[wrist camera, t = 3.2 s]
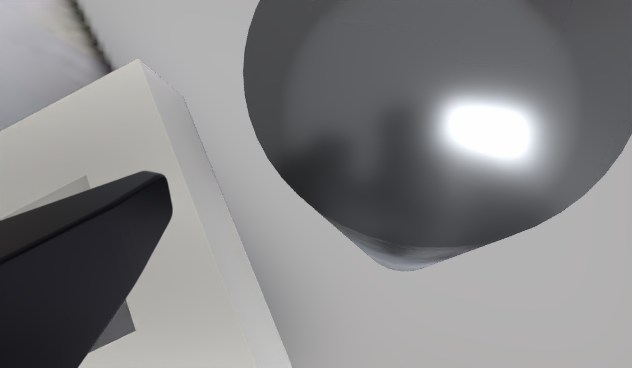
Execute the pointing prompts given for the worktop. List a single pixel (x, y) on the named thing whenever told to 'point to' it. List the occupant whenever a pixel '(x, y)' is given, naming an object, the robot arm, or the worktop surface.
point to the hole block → (177, 240)
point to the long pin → (439, 113)
